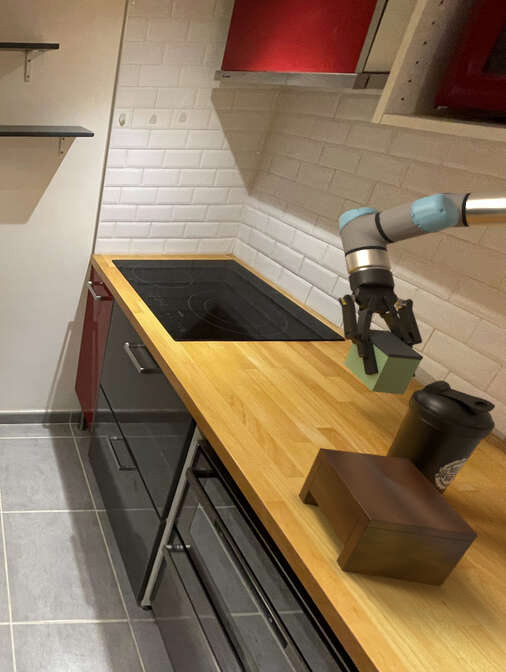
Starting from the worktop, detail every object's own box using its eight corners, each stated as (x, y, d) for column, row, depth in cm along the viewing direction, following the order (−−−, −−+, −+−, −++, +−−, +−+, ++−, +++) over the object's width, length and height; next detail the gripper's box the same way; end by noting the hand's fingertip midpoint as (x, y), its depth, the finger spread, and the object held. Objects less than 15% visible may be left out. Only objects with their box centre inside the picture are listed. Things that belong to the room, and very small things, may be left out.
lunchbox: (372, 366, 102) (389, 330, 98) (404, 395, 93) (423, 356, 89) (343, 363, 103) (358, 328, 99) (371, 391, 94) (389, 353, 90)
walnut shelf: (381, 506, 82) (408, 458, 77) (441, 586, 69) (478, 534, 64) (298, 495, 84) (319, 447, 79) (341, 570, 71) (370, 519, 66)
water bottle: (422, 521, 79) (485, 421, 70) (358, 476, 88) (407, 382, 78) (453, 502, 83) (518, 405, 73) (389, 461, 91) (439, 370, 82)
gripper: (403, 282, 104) (426, 382, 95) (313, 275, 106) (328, 373, 98) (430, 270, 97) (458, 377, 89) (333, 263, 99) (351, 367, 91)
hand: (389, 375), depth 93 cm, fingers closed on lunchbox, 6 cm apart
